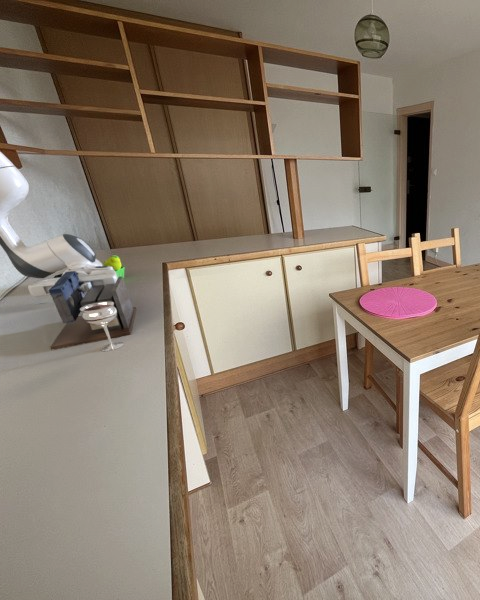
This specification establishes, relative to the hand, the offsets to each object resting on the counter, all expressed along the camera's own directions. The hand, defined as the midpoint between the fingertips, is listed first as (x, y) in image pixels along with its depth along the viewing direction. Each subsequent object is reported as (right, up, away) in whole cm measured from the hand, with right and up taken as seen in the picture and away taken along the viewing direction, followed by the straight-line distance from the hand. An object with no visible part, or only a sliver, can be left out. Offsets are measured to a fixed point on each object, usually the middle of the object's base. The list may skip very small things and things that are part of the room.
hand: (71, 290), depth 94 cm
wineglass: (+20, -16, -8) cm, 26 cm away
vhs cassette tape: (+2, -6, 0) cm, 6 cm away
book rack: (+6, -11, +2) cm, 13 cm away
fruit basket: (-26, +5, +42) cm, 50 cm away
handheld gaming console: (-44, +3, +37) cm, 57 cm away
